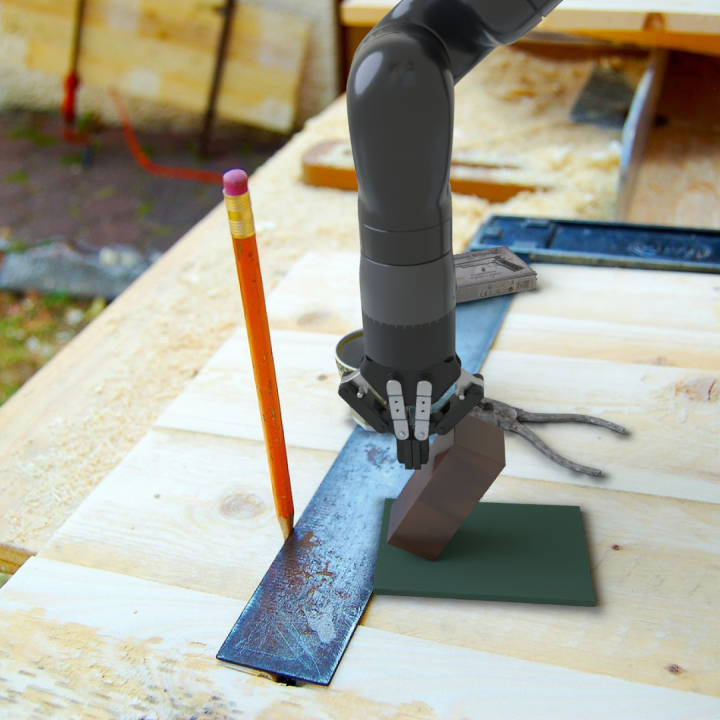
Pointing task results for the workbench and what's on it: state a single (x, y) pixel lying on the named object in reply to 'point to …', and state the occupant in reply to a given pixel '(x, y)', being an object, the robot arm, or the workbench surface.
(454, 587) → the rubber mat
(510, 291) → the box
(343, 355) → the ceramic cup
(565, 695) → the workbench surface
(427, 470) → the walnut block
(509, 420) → the pliers
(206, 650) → the workbench surface
